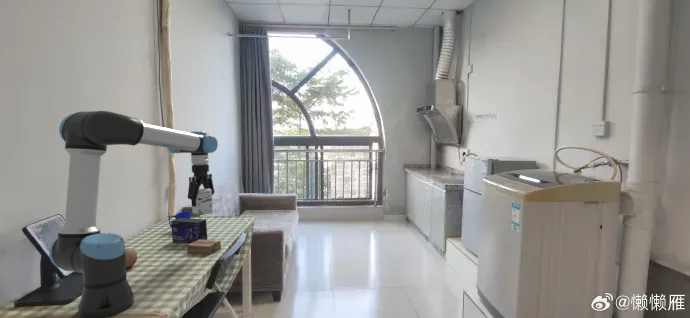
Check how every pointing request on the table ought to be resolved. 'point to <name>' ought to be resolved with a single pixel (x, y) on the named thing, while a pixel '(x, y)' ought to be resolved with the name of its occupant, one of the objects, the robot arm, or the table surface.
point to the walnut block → (204, 247)
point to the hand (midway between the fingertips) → (202, 210)
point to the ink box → (204, 202)
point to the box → (188, 230)
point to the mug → (181, 216)
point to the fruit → (130, 257)
